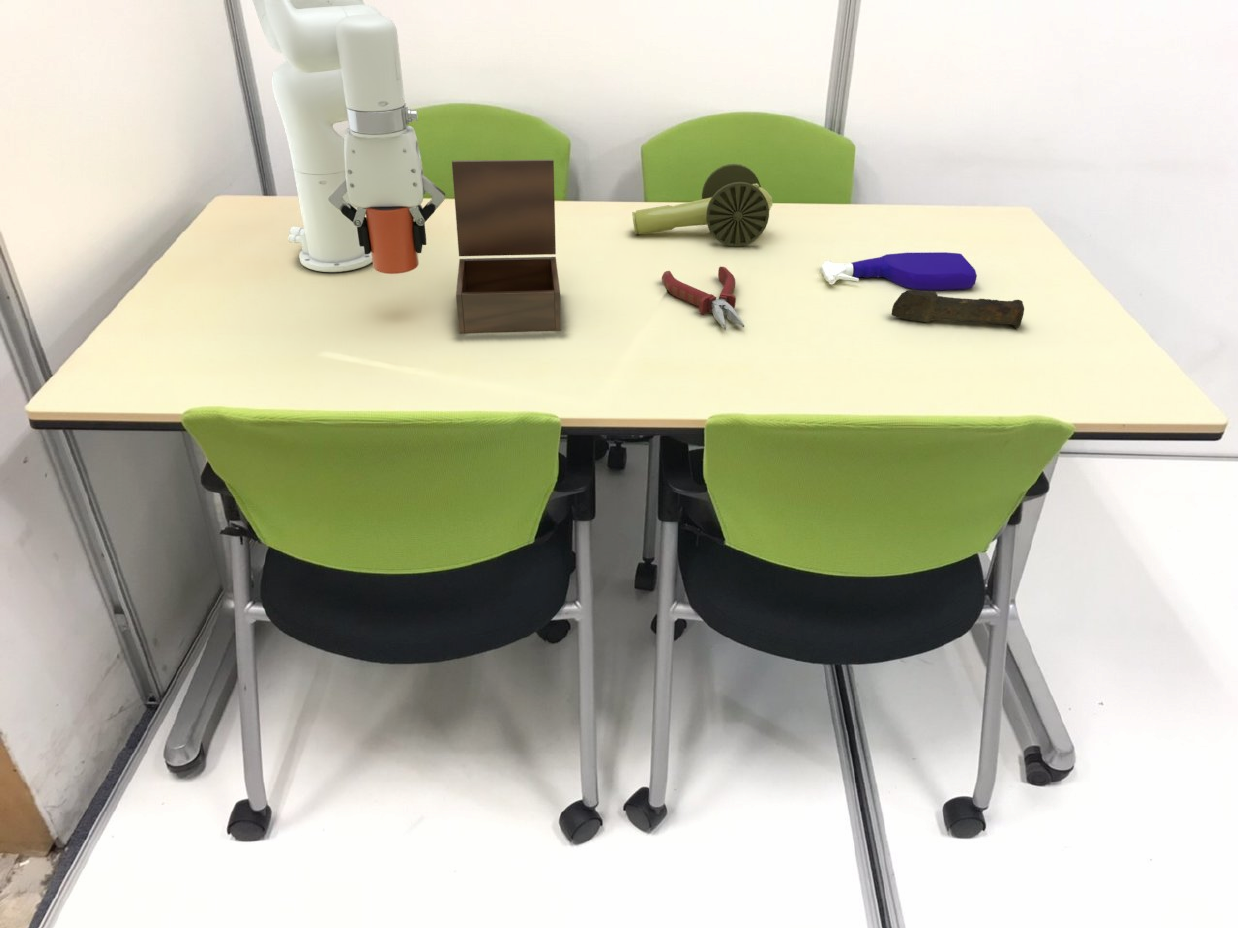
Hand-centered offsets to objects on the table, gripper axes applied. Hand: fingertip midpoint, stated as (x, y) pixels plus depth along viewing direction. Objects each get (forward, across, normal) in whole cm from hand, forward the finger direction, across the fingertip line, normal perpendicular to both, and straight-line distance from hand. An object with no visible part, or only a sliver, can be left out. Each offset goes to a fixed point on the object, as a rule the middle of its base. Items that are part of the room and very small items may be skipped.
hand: (394, 249), depth 132 cm
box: (+11, -16, 0) cm, 19 cm away
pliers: (+11, -46, -3) cm, 47 cm away
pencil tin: (+2, 0, 0) cm, 2 cm away
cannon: (+11, -50, -32) cm, 61 cm away
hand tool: (+12, -83, +6) cm, 84 cm away
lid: (-3, -16, -7) cm, 18 cm away
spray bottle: (+12, -80, -11) cm, 81 cm away
